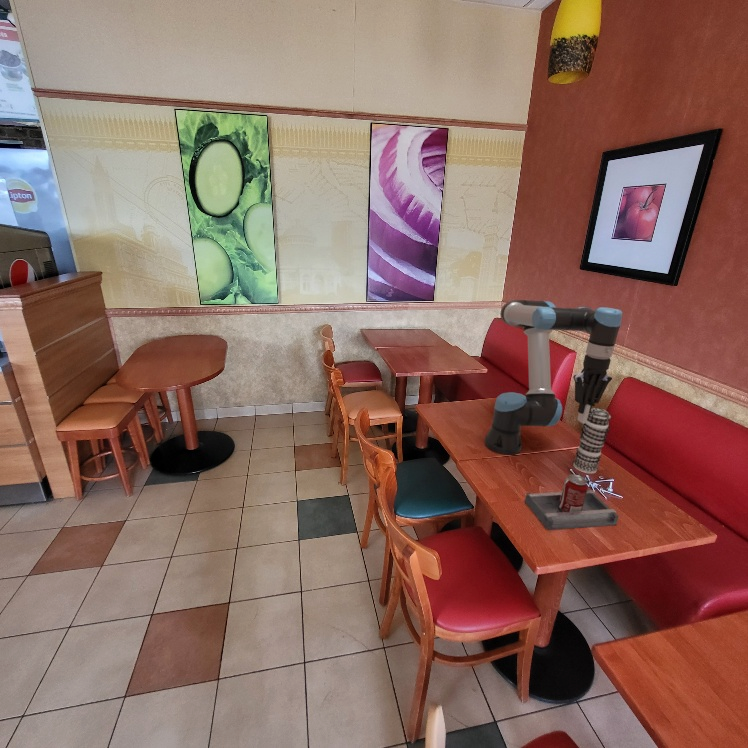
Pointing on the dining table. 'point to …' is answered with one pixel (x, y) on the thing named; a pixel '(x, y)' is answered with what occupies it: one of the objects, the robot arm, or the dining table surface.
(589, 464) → the decorative candle
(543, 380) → the robot arm
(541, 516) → the tray
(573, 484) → the soda can
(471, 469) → the dining table surface
